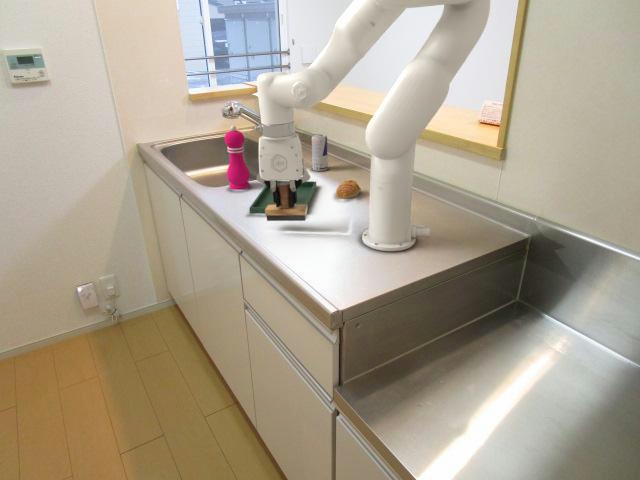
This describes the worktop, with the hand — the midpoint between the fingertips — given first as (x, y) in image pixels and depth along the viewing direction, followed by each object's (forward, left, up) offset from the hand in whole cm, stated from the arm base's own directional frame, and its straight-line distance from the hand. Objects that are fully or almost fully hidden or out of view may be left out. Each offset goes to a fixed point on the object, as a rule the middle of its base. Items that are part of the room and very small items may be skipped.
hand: (285, 204), depth 110 cm
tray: (+5, -21, -7) cm, 23 cm away
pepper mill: (+22, -31, -7) cm, 39 cm away
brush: (0, 0, -4) cm, 4 cm away
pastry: (-13, -27, -7) cm, 31 cm away
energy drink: (-1, -53, -7) cm, 54 cm away
